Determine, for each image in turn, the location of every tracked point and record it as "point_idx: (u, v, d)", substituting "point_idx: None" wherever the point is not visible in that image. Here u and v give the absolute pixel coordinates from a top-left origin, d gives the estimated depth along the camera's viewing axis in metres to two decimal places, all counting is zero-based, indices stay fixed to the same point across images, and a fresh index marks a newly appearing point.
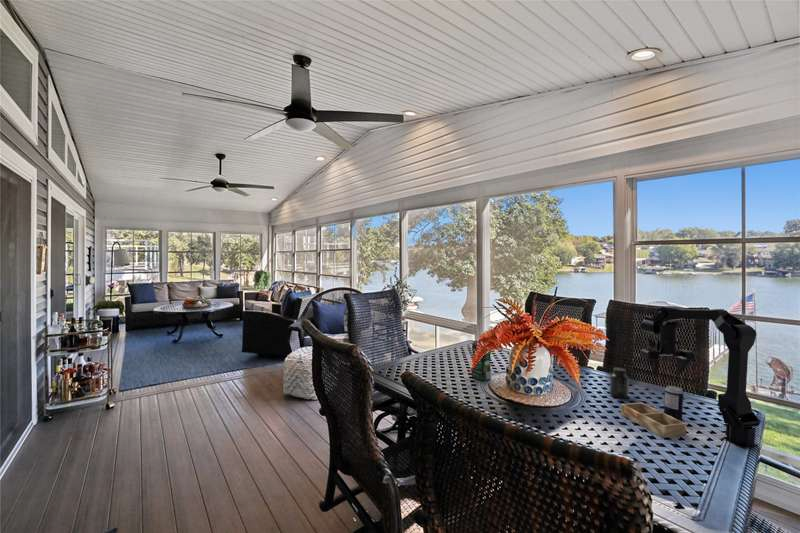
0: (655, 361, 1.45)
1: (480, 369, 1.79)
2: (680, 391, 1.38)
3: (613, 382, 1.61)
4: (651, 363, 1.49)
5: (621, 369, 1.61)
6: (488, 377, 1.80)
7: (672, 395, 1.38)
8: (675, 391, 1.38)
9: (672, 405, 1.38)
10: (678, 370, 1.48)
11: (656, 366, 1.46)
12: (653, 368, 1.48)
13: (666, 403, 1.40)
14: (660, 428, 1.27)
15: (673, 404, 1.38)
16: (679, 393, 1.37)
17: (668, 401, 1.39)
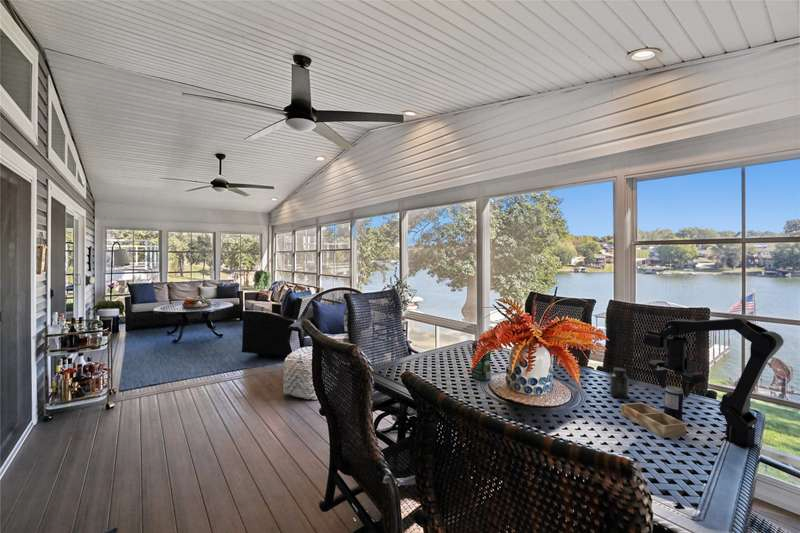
0: (653, 371, 1.46)
1: (480, 369, 1.79)
2: (680, 391, 1.38)
3: (613, 382, 1.61)
4: None
5: (621, 369, 1.61)
6: (488, 377, 1.80)
7: (672, 395, 1.38)
8: (675, 391, 1.38)
9: (672, 405, 1.38)
10: None
11: (657, 377, 1.45)
12: None
13: (666, 403, 1.40)
14: (660, 428, 1.27)
15: (673, 404, 1.38)
16: (679, 393, 1.37)
17: (668, 401, 1.39)
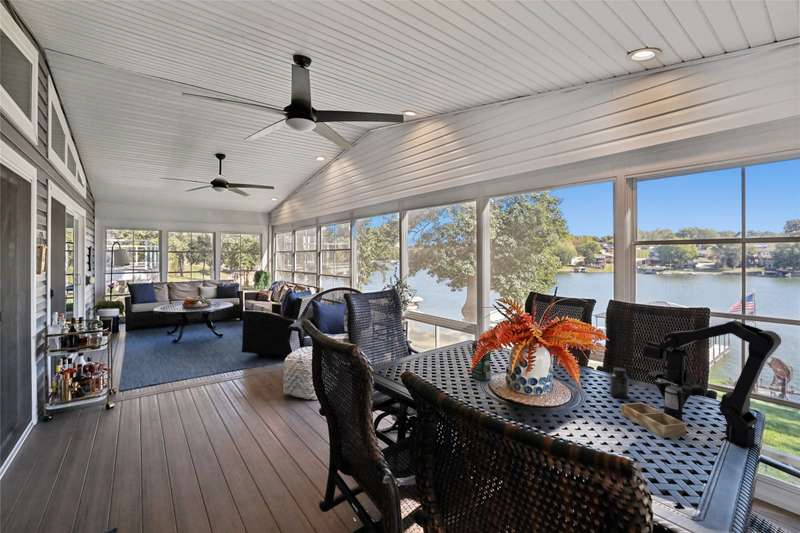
0: (656, 384, 1.44)
1: (480, 369, 1.79)
2: None
3: (613, 382, 1.61)
4: None
5: (621, 369, 1.61)
6: (488, 377, 1.80)
7: (672, 395, 1.38)
8: (675, 391, 1.38)
9: (672, 405, 1.38)
10: None
11: (660, 390, 1.44)
12: None
13: (666, 403, 1.40)
14: (660, 428, 1.27)
15: (673, 404, 1.38)
16: None
17: (668, 401, 1.39)
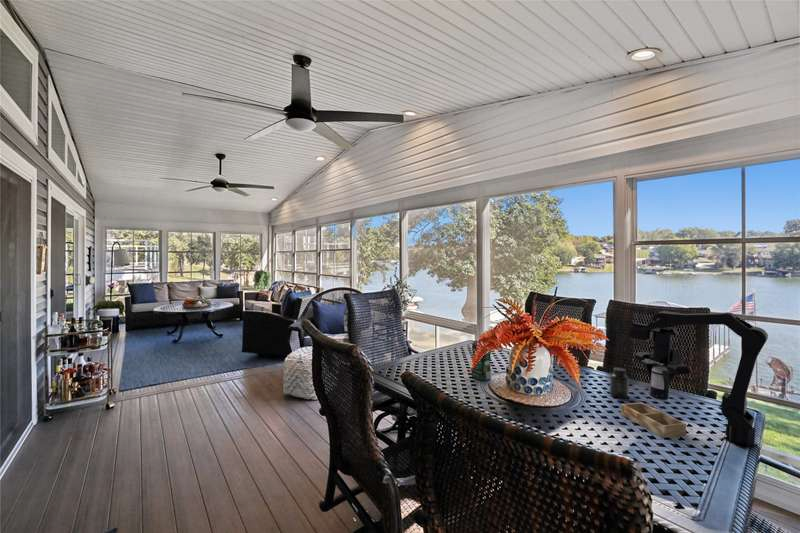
0: (643, 364, 1.44)
1: (480, 369, 1.79)
2: None
3: (613, 382, 1.61)
4: None
5: (621, 369, 1.61)
6: (488, 377, 1.80)
7: (658, 375, 1.38)
8: (661, 371, 1.38)
9: (658, 385, 1.38)
10: None
11: (646, 370, 1.43)
12: None
13: (652, 384, 1.40)
14: (660, 428, 1.27)
15: (658, 384, 1.38)
16: None
17: (654, 381, 1.39)
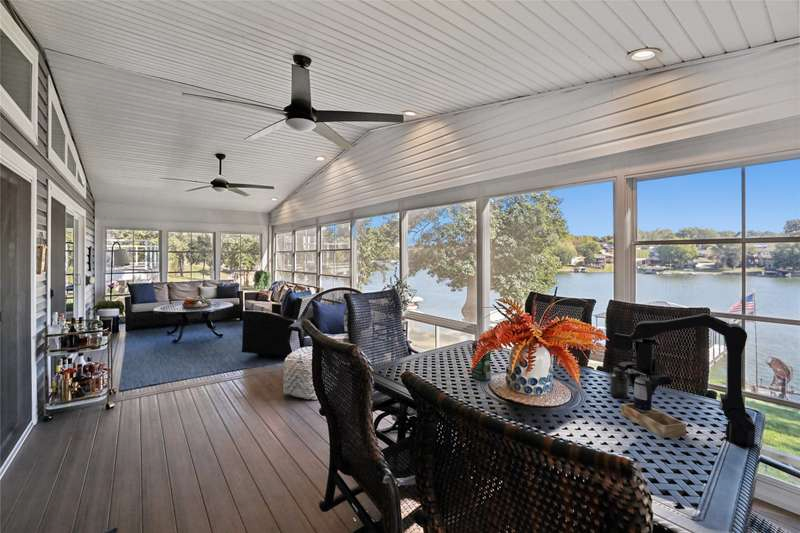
0: (626, 374, 1.44)
1: (480, 369, 1.79)
2: None
3: (613, 382, 1.61)
4: None
5: None
6: (488, 377, 1.80)
7: (641, 386, 1.38)
8: (644, 382, 1.37)
9: (641, 395, 1.38)
10: None
11: (629, 380, 1.43)
12: None
13: (635, 394, 1.39)
14: (660, 428, 1.27)
15: (641, 395, 1.38)
16: None
17: (637, 392, 1.39)
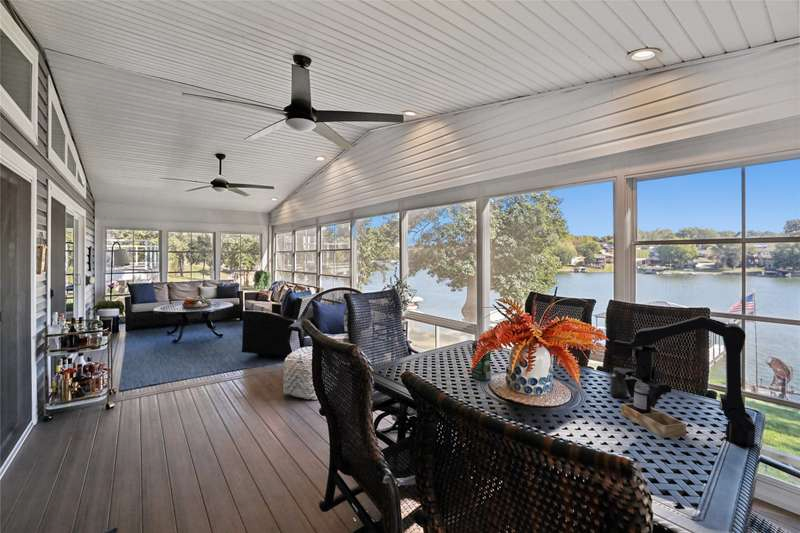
0: (622, 380, 1.46)
1: (480, 369, 1.79)
2: None
3: (613, 382, 1.61)
4: None
5: None
6: (488, 377, 1.80)
7: (641, 395, 1.38)
8: (643, 391, 1.38)
9: (641, 405, 1.38)
10: None
11: (626, 386, 1.45)
12: None
13: (635, 404, 1.40)
14: (660, 428, 1.27)
15: (641, 404, 1.38)
16: (648, 393, 1.37)
17: (637, 401, 1.39)
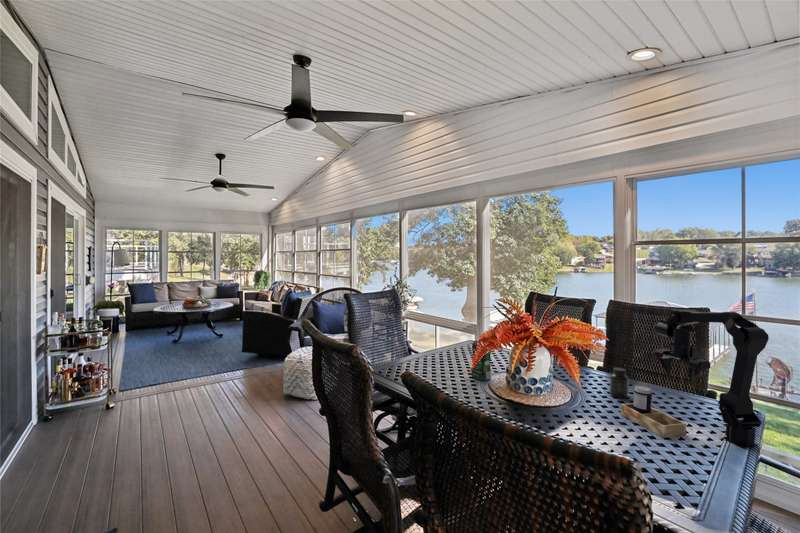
0: (659, 359, 1.52)
1: (480, 369, 1.79)
2: (648, 391, 1.37)
3: (613, 382, 1.61)
4: None
5: (621, 369, 1.61)
6: (488, 377, 1.80)
7: (641, 395, 1.38)
8: (643, 391, 1.38)
9: (641, 405, 1.38)
10: None
11: (663, 365, 1.51)
12: None
13: (635, 403, 1.40)
14: (660, 428, 1.27)
15: (641, 404, 1.38)
16: (647, 393, 1.37)
17: (637, 401, 1.39)
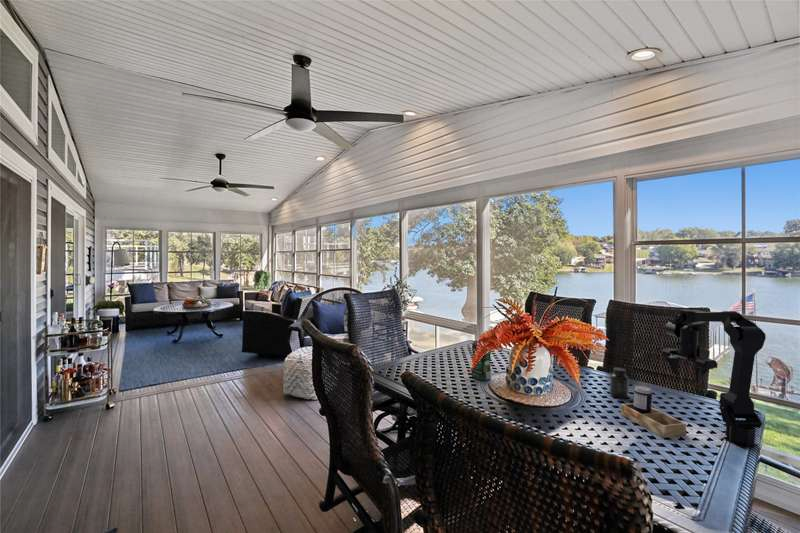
0: (666, 358, 1.53)
1: (480, 369, 1.79)
2: (648, 391, 1.37)
3: (613, 382, 1.61)
4: None
5: (621, 369, 1.61)
6: (488, 377, 1.80)
7: (641, 395, 1.38)
8: (643, 391, 1.38)
9: (641, 405, 1.38)
10: None
11: (670, 364, 1.52)
12: None
13: (635, 403, 1.40)
14: (660, 428, 1.27)
15: (641, 404, 1.38)
16: (648, 393, 1.37)
17: (637, 401, 1.39)
